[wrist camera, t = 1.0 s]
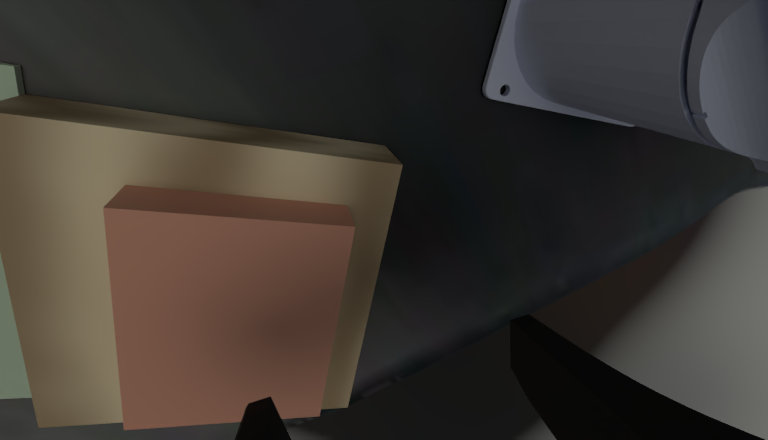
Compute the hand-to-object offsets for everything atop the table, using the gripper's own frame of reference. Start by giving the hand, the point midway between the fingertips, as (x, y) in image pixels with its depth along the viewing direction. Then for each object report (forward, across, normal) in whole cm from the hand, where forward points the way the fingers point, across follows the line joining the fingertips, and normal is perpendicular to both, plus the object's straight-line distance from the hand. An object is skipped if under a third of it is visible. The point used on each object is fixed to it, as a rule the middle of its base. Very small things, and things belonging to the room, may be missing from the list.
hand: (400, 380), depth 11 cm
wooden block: (+10, +6, 0) cm, 12 cm away
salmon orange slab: (+7, +6, 0) cm, 9 cm away
